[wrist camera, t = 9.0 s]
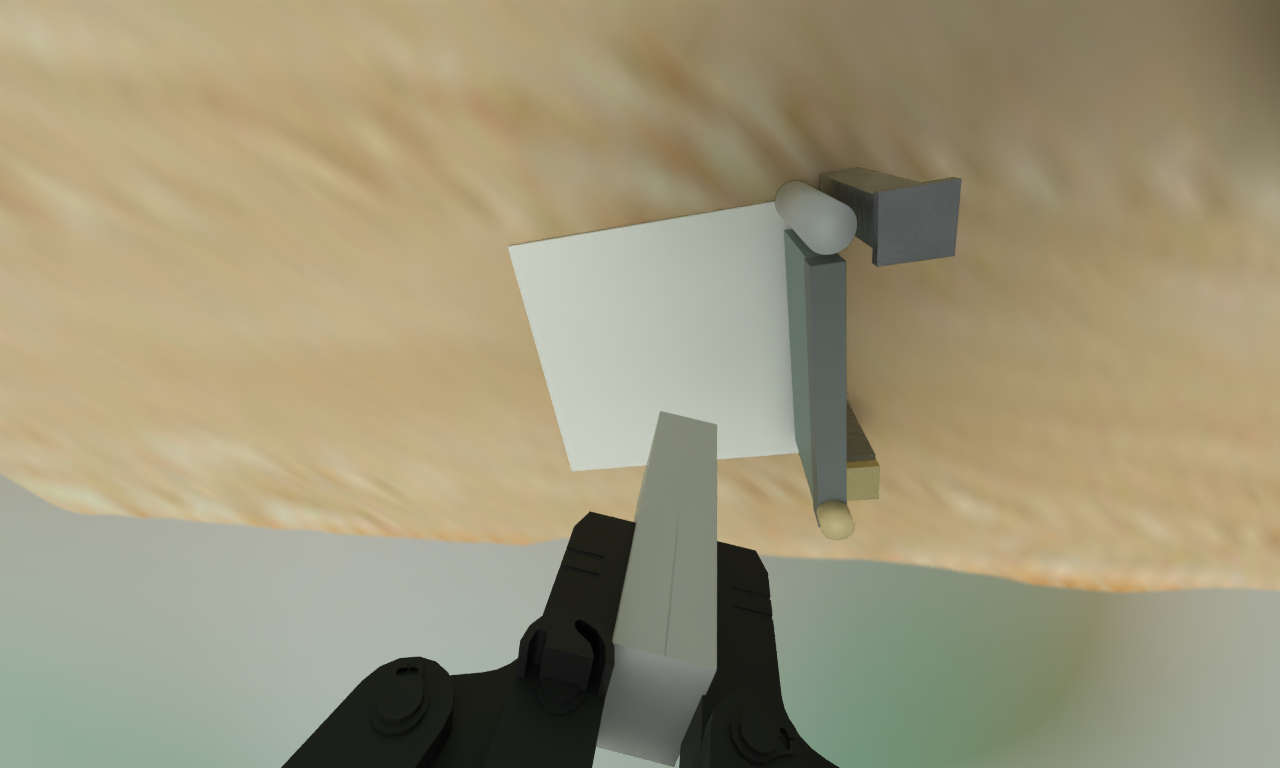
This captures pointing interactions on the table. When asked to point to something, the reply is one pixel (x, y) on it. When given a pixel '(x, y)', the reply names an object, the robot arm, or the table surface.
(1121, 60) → the table surface
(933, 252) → the hinge post
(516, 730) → the robot arm
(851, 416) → the post
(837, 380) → the gate
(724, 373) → the mat
